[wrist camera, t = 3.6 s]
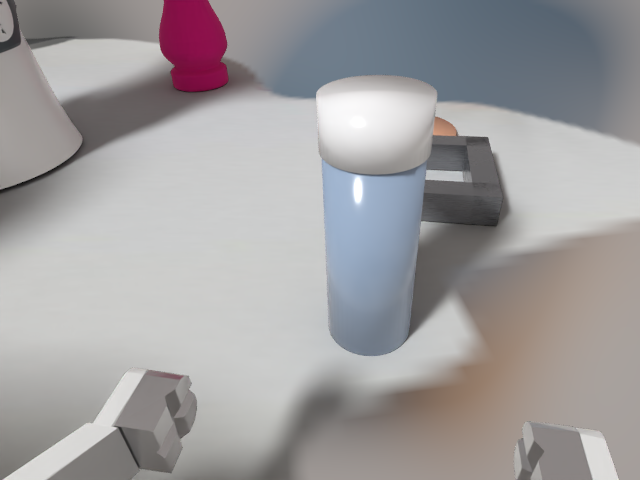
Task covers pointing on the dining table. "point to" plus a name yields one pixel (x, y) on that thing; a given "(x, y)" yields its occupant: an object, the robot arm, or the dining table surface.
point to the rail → (462, 197)
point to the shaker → (373, 204)
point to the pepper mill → (193, 45)
